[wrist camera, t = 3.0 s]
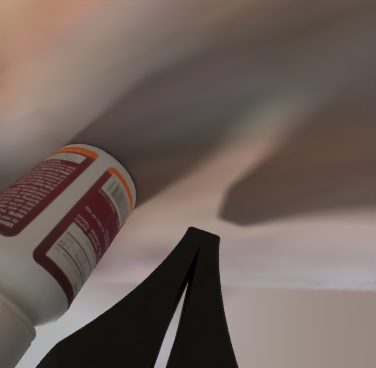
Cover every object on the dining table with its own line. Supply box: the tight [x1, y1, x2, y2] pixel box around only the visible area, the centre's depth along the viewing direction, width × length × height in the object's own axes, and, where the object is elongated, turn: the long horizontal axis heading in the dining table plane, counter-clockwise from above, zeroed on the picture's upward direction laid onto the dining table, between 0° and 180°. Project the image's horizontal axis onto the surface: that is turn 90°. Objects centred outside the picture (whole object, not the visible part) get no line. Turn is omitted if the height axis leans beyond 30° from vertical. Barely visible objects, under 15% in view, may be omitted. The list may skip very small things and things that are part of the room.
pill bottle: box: [0, 144, 136, 368], centre depth 11 cm, size 5×5×8 cm
